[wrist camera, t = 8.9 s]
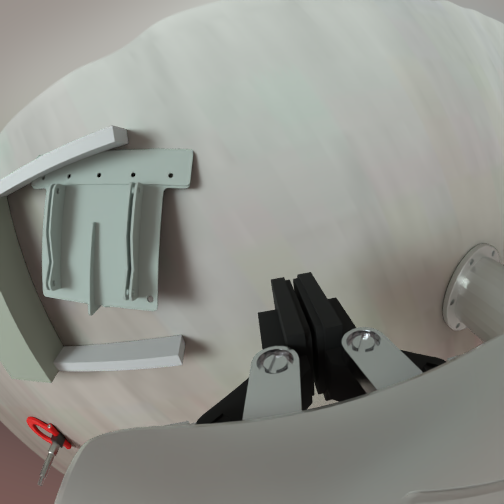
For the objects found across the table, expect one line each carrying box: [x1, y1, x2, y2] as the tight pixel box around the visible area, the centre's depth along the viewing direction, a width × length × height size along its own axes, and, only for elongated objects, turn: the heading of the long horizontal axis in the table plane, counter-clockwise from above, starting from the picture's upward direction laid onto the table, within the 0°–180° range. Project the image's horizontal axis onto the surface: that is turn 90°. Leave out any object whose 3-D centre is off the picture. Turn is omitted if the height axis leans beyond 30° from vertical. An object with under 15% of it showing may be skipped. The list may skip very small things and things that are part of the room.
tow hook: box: [27, 417, 71, 486], centre depth 24 cm, size 8×13×9 cm
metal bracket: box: [31, 149, 193, 316], centre depth 20 cm, size 14×6×15 cm
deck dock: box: [0, 126, 185, 383], centre depth 18 cm, size 23×20×5 cm
